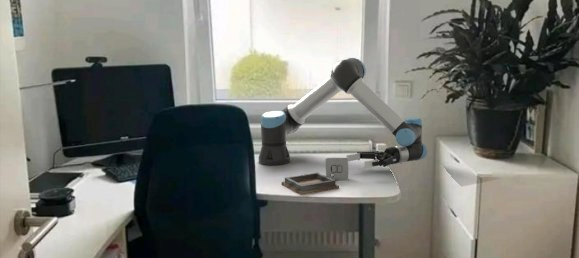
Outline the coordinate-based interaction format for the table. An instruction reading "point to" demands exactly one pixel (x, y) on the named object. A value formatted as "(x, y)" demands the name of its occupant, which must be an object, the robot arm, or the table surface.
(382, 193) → the table surface
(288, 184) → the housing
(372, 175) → the table surface
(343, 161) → the electrical switch
